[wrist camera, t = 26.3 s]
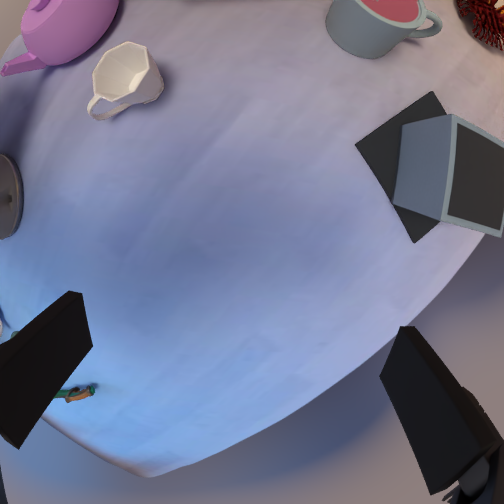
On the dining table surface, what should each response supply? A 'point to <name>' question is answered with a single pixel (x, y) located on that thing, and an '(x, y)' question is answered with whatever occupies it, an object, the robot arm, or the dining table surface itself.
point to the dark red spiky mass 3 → (486, 19)
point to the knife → (75, 393)
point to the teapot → (60, 31)
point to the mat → (385, 157)
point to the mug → (377, 24)
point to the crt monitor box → (451, 173)
